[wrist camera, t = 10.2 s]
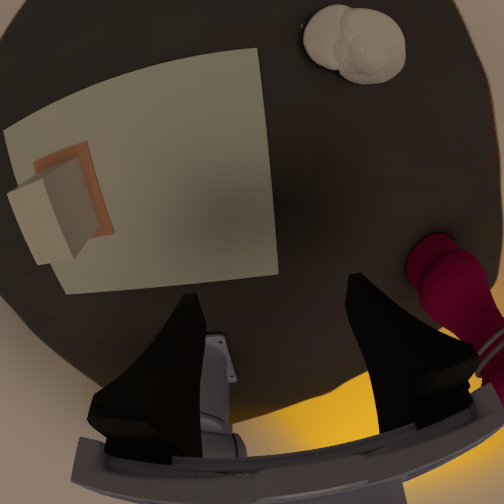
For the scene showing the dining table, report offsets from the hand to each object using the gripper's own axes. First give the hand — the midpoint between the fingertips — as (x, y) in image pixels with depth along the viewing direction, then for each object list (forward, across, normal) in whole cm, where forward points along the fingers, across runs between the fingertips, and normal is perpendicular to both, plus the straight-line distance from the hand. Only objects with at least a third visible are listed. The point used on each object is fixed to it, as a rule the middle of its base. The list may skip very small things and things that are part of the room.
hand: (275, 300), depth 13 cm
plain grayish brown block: (+9, +15, -4) cm, 18 cm away
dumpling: (+10, -7, -12) cm, 17 cm away
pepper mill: (+10, -17, +7) cm, 21 cm away
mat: (+10, +10, -3) cm, 14 cm away
